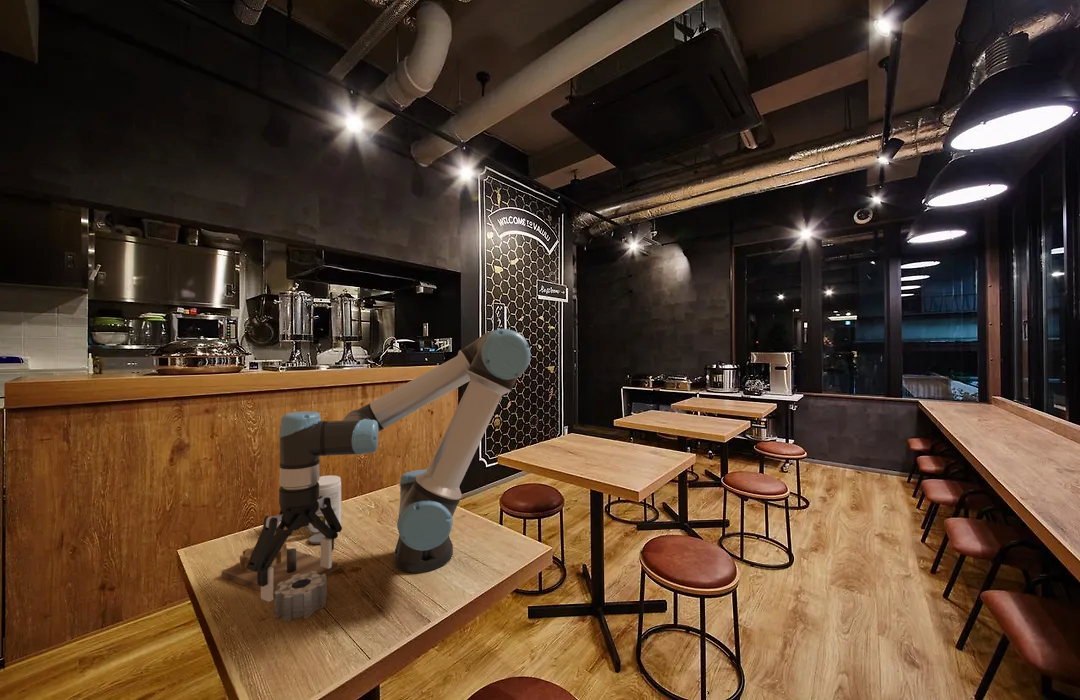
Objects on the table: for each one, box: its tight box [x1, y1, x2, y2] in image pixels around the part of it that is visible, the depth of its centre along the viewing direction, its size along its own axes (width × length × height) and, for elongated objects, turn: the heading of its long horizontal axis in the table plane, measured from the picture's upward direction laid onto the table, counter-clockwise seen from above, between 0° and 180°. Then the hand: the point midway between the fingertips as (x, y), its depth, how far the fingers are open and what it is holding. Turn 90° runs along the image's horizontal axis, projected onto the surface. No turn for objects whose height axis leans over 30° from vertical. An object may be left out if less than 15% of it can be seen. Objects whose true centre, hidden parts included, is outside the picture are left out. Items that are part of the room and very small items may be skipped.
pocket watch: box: [305, 507, 328, 545], centre depth 121 cm, size 8×8×10 cm
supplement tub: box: [312, 475, 343, 528], centre depth 129 cm, size 10×10×15 cm
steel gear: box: [273, 571, 328, 623], centre depth 90 cm, size 10×10×5 cm
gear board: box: [221, 542, 339, 597], centre depth 103 cm, size 23×14×6 cm, turn 66°
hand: (298, 582), depth 90 cm, fingers open, 13 cm apart
